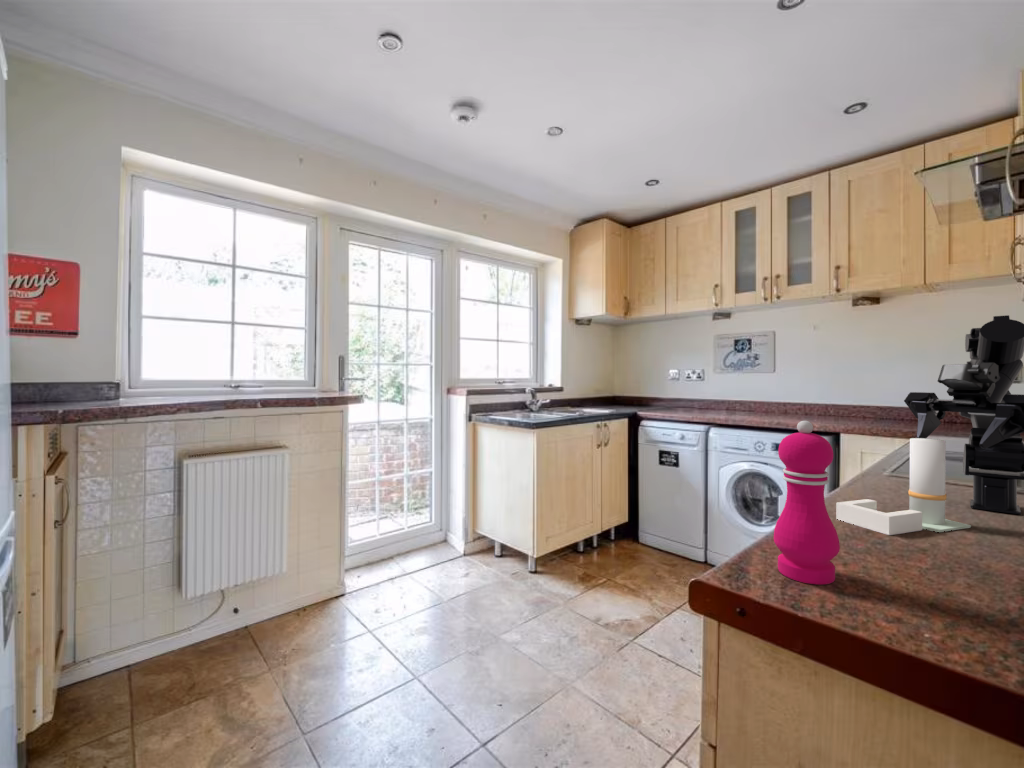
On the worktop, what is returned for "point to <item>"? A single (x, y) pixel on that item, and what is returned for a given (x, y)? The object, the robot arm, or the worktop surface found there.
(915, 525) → the clip bracket
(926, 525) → the sage mat
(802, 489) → the pepper mill
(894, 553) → the worktop surface
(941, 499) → the white banded cylinder
